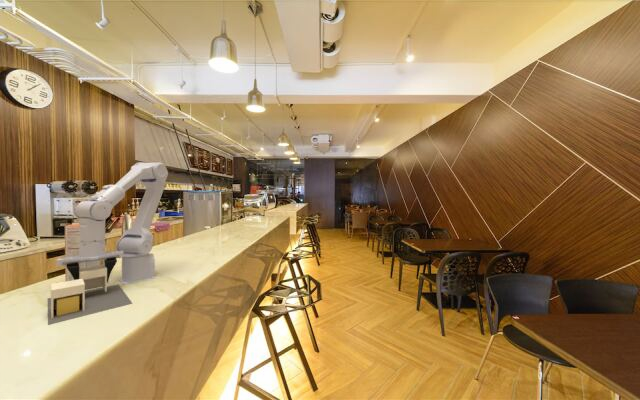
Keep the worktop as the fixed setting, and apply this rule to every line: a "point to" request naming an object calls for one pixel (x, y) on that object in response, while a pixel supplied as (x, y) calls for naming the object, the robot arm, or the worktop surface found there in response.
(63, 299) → the cube
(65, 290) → the box
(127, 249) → the robot arm
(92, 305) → the mat
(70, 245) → the cracker box
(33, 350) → the worktop surface
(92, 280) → the box
